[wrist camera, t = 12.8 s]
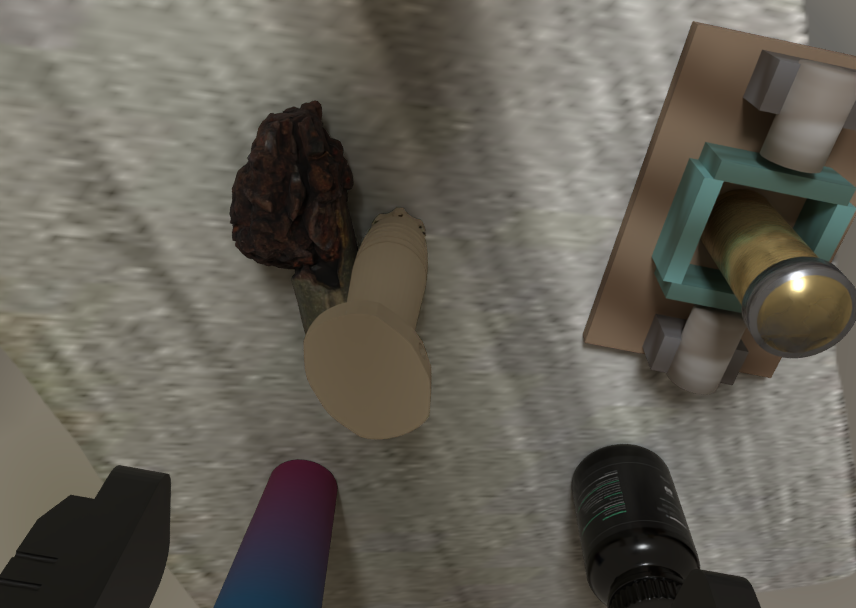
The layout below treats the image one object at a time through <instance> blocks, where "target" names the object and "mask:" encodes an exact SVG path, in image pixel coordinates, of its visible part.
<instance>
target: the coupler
mask: <svg viewBox="0 0 856 608" xmlns="http://www.w3.org/2000/svg"><path fill="white" fill-rule="evenodd" d="M700 238H701V241H702V242H703V244H704V245H705V247H706V249H707V250H708V252H709V254H710V255H711V257H712V258H713V260H714V262H715V263H716V265H717V266H718V268H719V270H720V271H721V273H722V275H723V276H724V278H725V279H726V281H727V283H728V284H729V286H730V288H731V289H732V291H733V292H734V294H735V296H736V297H737V299H738V301H739V302H740V304H741V305H742V308H741V310H742V317H743V320H744V323H745V325H746V327H747V328H748V330H749V332H750V333H751V335H752V337H753V338H754V340H755V341H756V343H757V344H758V345H759V346H760V347H761V348H762V349H764V350H765V351H767V352H768V353H770V354H773V355H775V356H779V357H784V358H803V357H808V356H812V355H815V354H818V353H821V352H823V351H825V350H827V349H829V348H831V347H832V346H834V345H835V344H837V343H838V342H839V341H840V340H841V339H843V337H844V336H846V334H847V333H848V332H849V331H850V329H851V328H852V326H853V325H854V323H855V321H856V289H855V287H854V286H853V284H852V283H851V282H850V281H849V280H848V279H847V277H846V276H845V275H844V274H843V273H842V272H841V271H840V270H839V269H838V268H837V267H836V266H835V265H833V264H832V263H830V262H828V261H826V260H824V259H820V258H819V257H818V256H817V255H816V254H815V253H814V252H813V251H812V250H811V248H810V247H809V246H808V245H807V244H806V243H805V242H804V241H803V240H802V238H801V237H800V236H799V235H798V234H797V233H796V232H795V231H794V229H793V228H792V227H791V226H790V225H789V224H788V223H787V222H786V221H785V219H784V218H783V217H782V216H781V215H780V214H779V213H778V212H777V210H776V209H775V208H774V207H773V206H772V205H771V204H770V203H769V202H768V200H767V199H766V198H765V197H764V196H762V195H761V194H759V193H758V192H755V191H752V190H748V189H736V190H731V191H728V192H725V193H723V194H721V195H719V196H717V199H716V201H715V204H714V206H713V209H712V211H711V213H710V216H709V218H708V221H707V223H706V225H705V228H704V230H703V233H702V235H701V237H700Z"/></svg>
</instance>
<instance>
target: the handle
mask: <svg viewBox="0 0 856 608" xmlns="http://www.w3.org/2000/svg"><path fill="white" fill-rule="evenodd" d="M425 236H426V233H425V227H424V224H423V222H422V221H421V220H420V219H415V218H413V217H411V216H410V215H409V214H408V213H407V212H406V211H405V210H404V208H395V210H393V211H392V212H390V213H387V214H379V215H378V216H377V217H376V218H375V220H374V221H373V223H372V228H371V229H370V230H369V231H368V233H367V234H366V236H365V238H364V240H363V242H362V244H361V246H360V248H359V250H358V253H357V256H356V259H355V262H354V266H353V269H352V275H351V281H350V287H349V292H348V298H347V302H345V303H342V304H338V305H336V306H334V307H332V308H329V309H327V310H326V311H324V312H323V313H321V314H320V315H319V316H318V317H317V318H316V319H315V320H314V321H313V323H312V324H311V326H310V327H309V329H308V331H307V333H306V336H305V339H304V362H305V371H306V376H307V379H308V381H309V384H310V386H311V388H312V389H313V391H314V393H315V394H316V396H317V398H318V399H319V401H320V402H321V404H322V406H323V407H324V408H325V410H326V411H327V412H328V414H330V415H331V416H332V417H333V418H334V419H335V420H336V421H338V422H339V423H341V424H342V425H343V426H345V427H346V428H348V429H349V430H351V431H352V432H354V433H355V434H357V435H358V436H360V437H362V438H368V439H389V438H393V437H397V436H401V435H404V434H406V433H409V432H411V431H413V430H415V429H416V428H418V427H419V426H420V425H422V424H423V423H424V422H425V421H426V420H427V418H428V417H429V413H430V399H431V365H430V362H429V359H428V356H427V353H426V350H425V347H424V344H423V342H422V340H421V339H420V337H419V336H418V334H417V333H416V332H415V329H416V325H417V320H418V316H419V312H420V308H421V304H422V300H423V296H424V291H425V287H426V280H427V271H428V255H427V246H426V241H425Z"/></svg>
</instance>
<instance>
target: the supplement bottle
mask: <svg viewBox="0 0 856 608" xmlns="http://www.w3.org/2000/svg"><path fill="white" fill-rule="evenodd" d="M572 491H573V499H574V505H575V511H576V517H577V523H578V529H579V535H580V541H581V547H582V553H583V559H584V565H585V571H586V576H587V580H588V583H589V586H590V588H591V590H592V591H593V593H594V594H595V595H596V596H597V598H598V599H599V600H600V601H601V602H603V603H604V604H605V605H607V607H608V608H670V607H671V605H672V603H673V601H674V599H675V598H676V596H677V594H678V592H679V590H680V588H681V586H682V585H683V583H684V581H685V579H686V577H687V576H688V574H689V573H690V572H691V571H692V570H694V569H700V562H699V558H698V554H697V551H696V548H695V545H694V542H693V539H692V536H691V533H690V530H689V527H688V525H687V522H686V519H685V516H684V513H683V510H682V507H681V504H680V501H679V498H678V495H677V492H676V489H675V486H674V483H673V480H672V477H671V475H670V472H669V469H668V467H667V466H666V464H665V462H664V461H663V460H662V459H661V458H660V457H659V456H658V455H657V454H655V453H654V452H652V451H650V450H648V449H646V448H644V447H641V446H637V445H631V444H617V445H611V446H607V447H603V448H601V449H598V450H596V451H594V452H593V453H591V454H590V455H588V456H587V457H586V458H585V459H584V460H583V461H582V462H581V463H580V464H579V466H578V467H577V469H576V471H575V473H574V476H573V480H572Z"/></svg>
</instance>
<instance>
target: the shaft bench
mask: <svg viewBox="0 0 856 608" xmlns="http://www.w3.org/2000/svg"><path fill="white" fill-rule="evenodd" d="M736 189H748V190H752V191H755V192H758V193H759V194H761V195H762V196H764V197H765V198H766V199H767V200H768V202H769V203H770V204H771V205H772V206H773V207H774V208H775V209H776V210H777V212H778V213H779V214H780V215H781V216H782V217H783V218H784V219H785V221H786V222H787V223H788V224H789V225H790V226H791V227H792V228H793V229H794V231H795V232H796V233H797V234H798V235H799V236H800V237H801V238H802V240H803V241H804V242H805V243H806V244H807V245H808V246H809V247H810V248H811V250H812V251H813V252H814V253H815V254H816V255H817V256H818V257H819V258H820V259H824V260H826V261H828V262H830V263H831V262H832V260H833V258H834V256H835V254H836V253H837V251H838V249H839V247H840V245H841V242H842V241H843V239H844V237H845V235H846V233H847V231H848V229H849V228H850V226H851V224H852V222H853V220H854V218H855V216H856V56H853V55H848V54H844V53H839V52H834V51H829V50H825V49H820V48H815V47H811V46H806V45H802V44H797V43H792V42H788V41H783V40H778V39H773V38H769V37H764V36H759V35H755V34H750V33H745V32H741V31H736V30H731V29H727V28H722V27H717V26H713V25H708V24H703V23H699V22H694V21H693V22H692V25H691V28H690V31H689V33H688V36H687V39H686V42H685V45H684V48H683V51H682V53H681V56H680V59H679V62H678V65H677V68H676V70H675V73H674V76H673V79H672V82H671V85H670V88H669V90H668V93H667V96H666V99H665V102H664V105H663V107H662V110H661V113H660V116H659V119H658V122H657V124H656V127H655V130H654V133H653V136H652V139H651V142H650V144H649V147H648V150H647V153H646V156H645V159H644V161H643V164H642V167H641V170H640V173H639V176H638V179H637V181H636V184H635V187H634V190H633V193H632V196H631V198H630V201H629V204H628V207H627V210H626V213H625V216H624V218H623V221H622V224H621V227H620V230H619V233H618V235H617V238H616V241H615V244H614V247H613V250H612V253H611V255H610V258H609V261H608V264H607V267H606V270H605V272H604V275H603V278H602V281H601V284H600V287H599V290H598V292H597V295H596V298H595V301H594V304H593V307H592V309H591V312H590V315H589V318H588V321H587V324H586V327H585V329H584V332H583V337H584V341H585V343H590V344H595V345H600V346H605V347H611V348H616V349H621V350H626V351H632V352H637V353H642V354H645V355H646V358H647V361H648V363H649V366H650V369H651V370H655V371H661V372H666V374H667V376H668V377H669V379H670V380H671V381H672V382H673V383H675V384H676V385H677V386H679V387H680V388H682V389H684V390H686V391H689V392H692V393H695V394H701V395H708V394H712V393H714V392H715V391H716V389H717V387H718V385H719V383H724V384H729V385H733V383H734V381H735V379H736V377H737V375H738V373H739V372H742V373H747V374H752V375H758V376H763V377H768V378H771V377H772V375H773V373H774V371H775V369H776V367H777V365H778V364H779V362H780V360H781V358H782V357H779V356H775V355H773V354H770V353H768V352H767V351H765V350H764V349H762V348H761V347H760V346H759V345H758V344H757V343H756V341H755V340H754V338H753V337H752V335H751V333H750V332H749V330H748V328H747V327H746V325H745V323H744V320H743V317H742V310H741V308H742V305H741V304H740V302H739V301H738V299H737V297H736V296H735V294H734V292H733V291H732V289H731V288H730V286H729V284H728V283H727V281H726V279H725V278H724V276H723V275H722V273H721V271H720V270H719V268H718V266H717V265H716V263H715V262H714V260H713V258H712V257H711V255H710V254H709V252H708V250H707V249H706V247H705V245H704V244H703V242H702V241H701V238H700V237H701V235H702V233H703V230H704V228H705V225H706V223H707V221H708V218H709V216H710V213H711V211H712V209H713V206H714V204H715V201H716V199H717V196H719V195H721V194H723V193H725V192H728V191H731V190H736Z"/></svg>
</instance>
